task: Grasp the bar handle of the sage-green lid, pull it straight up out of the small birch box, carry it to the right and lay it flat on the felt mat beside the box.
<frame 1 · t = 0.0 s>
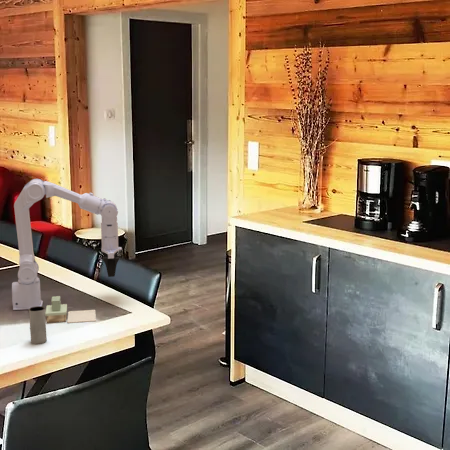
hand: (111, 273, 237), 10 cm above the table, tool pointing down, fingers open, 7 cm apart
lid: (56, 311, 220), point 2 cm above the table, touching box
cardboard tube: (38, 342, 201), on the table
mat: (81, 316, 222), on the table
box: (56, 318, 221), on the table
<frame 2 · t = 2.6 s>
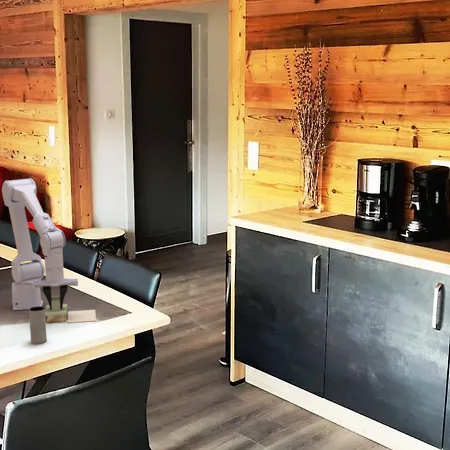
hand: (56, 307, 220), 4 cm above the table, tool pointing down, fingers closed on lid, 3 cm apart
lid: (56, 311, 220), point 2 cm above the table, touching box, gripper
everything else where it was.
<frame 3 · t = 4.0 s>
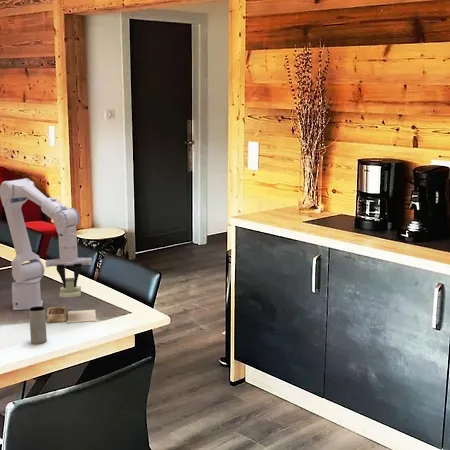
hand: (70, 286, 220), 11 cm above the table, tool pointing down, fingers closed on lid, 3 cm apart
lid: (70, 292, 220), point 9 cm above the table, touching gripper
everything else where it was.
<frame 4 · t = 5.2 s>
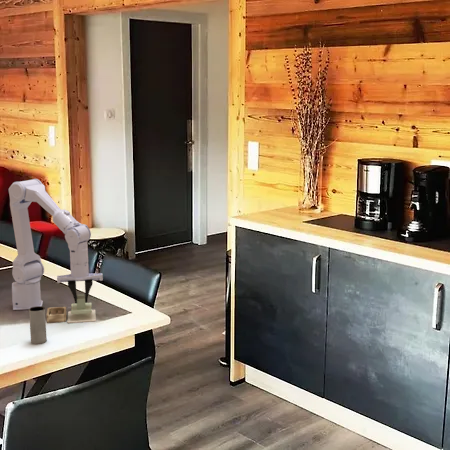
hand: (81, 302, 221), 5 cm above the table, tool pointing down, fingers closed on lid, 3 cm apart
lid: (81, 309, 222), point 3 cm above the table, touching gripper
everything else where it was.
when the fingers open (4 cm above the table, at t = 5.8 s): lid stays where it is, resting on mat.
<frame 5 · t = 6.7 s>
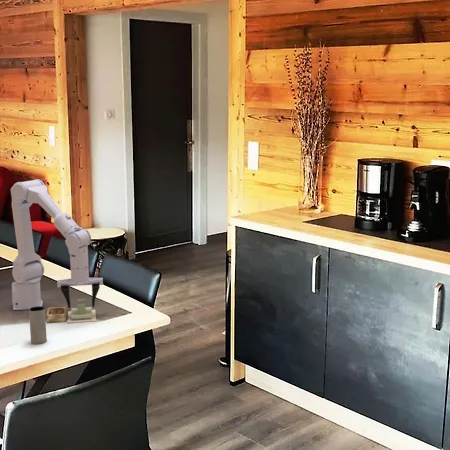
hand: (81, 306, 222), 4 cm above the table, tool pointing down, fingers open, 7 cm apart
lid: (81, 314, 222), point 1 cm above the table, touching mat
everything else where it was.
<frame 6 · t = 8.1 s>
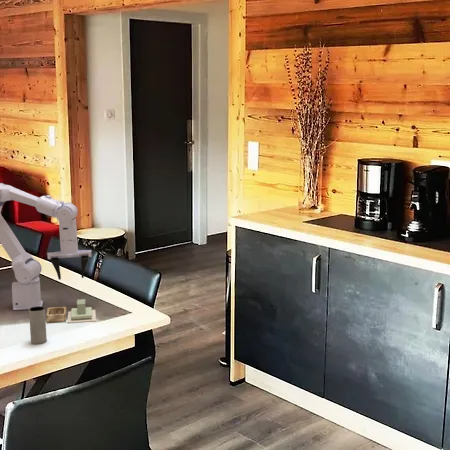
hand: (71, 278, 230), 10 cm above the table, tool pointing down, fingers open, 7 cm apart
nothing on the table moved.
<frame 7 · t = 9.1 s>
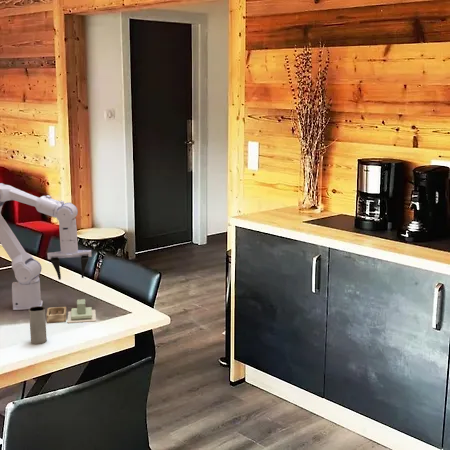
hand: (71, 278, 230), 10 cm above the table, tool pointing down, fingers open, 7 cm apart
nothing on the table moved.
at the end: lid inside the target area on the mat (0.0 cm from its centre), point 0.9 cm above the mat's base; lid tilted 0°; lid touching mat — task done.
